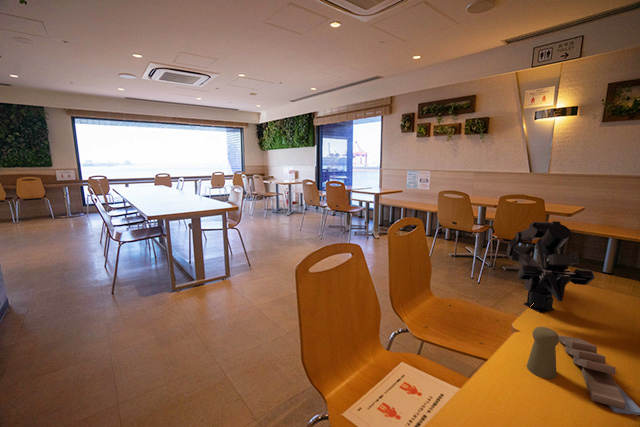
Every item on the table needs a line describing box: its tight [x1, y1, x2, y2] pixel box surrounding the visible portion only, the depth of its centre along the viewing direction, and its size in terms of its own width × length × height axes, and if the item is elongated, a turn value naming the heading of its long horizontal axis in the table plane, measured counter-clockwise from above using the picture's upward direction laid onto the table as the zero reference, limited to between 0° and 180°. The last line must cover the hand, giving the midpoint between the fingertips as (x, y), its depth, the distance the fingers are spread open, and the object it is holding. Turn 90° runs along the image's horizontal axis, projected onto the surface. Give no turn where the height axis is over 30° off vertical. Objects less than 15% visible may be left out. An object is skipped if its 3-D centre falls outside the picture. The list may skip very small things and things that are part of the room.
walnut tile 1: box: [558, 334, 598, 353], centre depth 81 cm, size 2×5×10 cm
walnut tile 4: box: [581, 366, 625, 409], centre depth 67 cm, size 2×5×10 cm
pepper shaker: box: [526, 326, 560, 380], centre depth 74 cm, size 6×6×11 cm
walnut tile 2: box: [564, 345, 607, 365], centre depth 77 cm, size 2×5×10 cm
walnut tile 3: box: [572, 355, 616, 376], centre depth 72 cm, size 2×5×10 cm
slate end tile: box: [607, 383, 640, 416], centre depth 67 cm, size 2×5×10 cm
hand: (560, 300), depth 91 cm, fingers closed
